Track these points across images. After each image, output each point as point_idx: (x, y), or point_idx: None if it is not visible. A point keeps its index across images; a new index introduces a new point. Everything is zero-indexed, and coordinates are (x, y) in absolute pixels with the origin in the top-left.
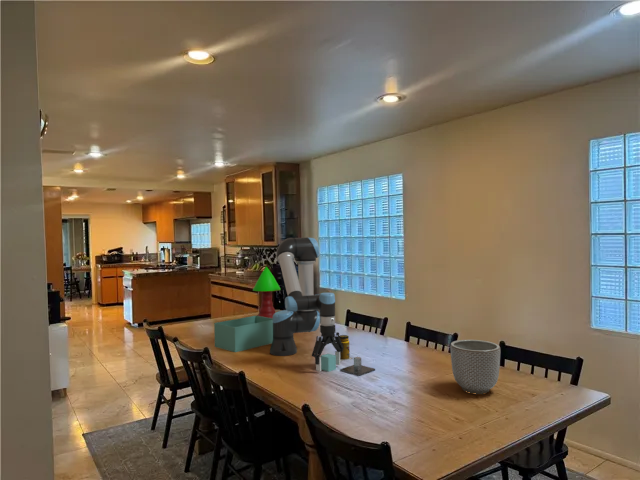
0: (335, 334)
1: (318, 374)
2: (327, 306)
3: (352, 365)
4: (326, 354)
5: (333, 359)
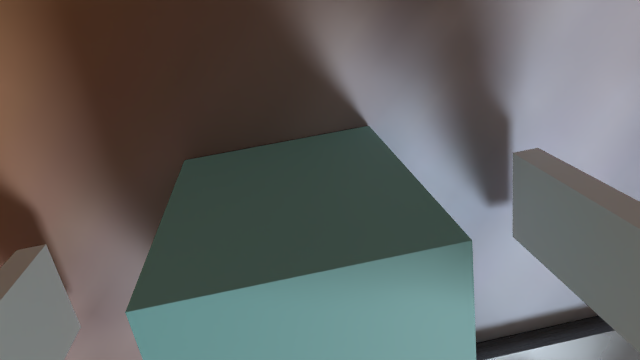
0: None
1: None
2: None
3: None
4: (367, 291)
5: None
